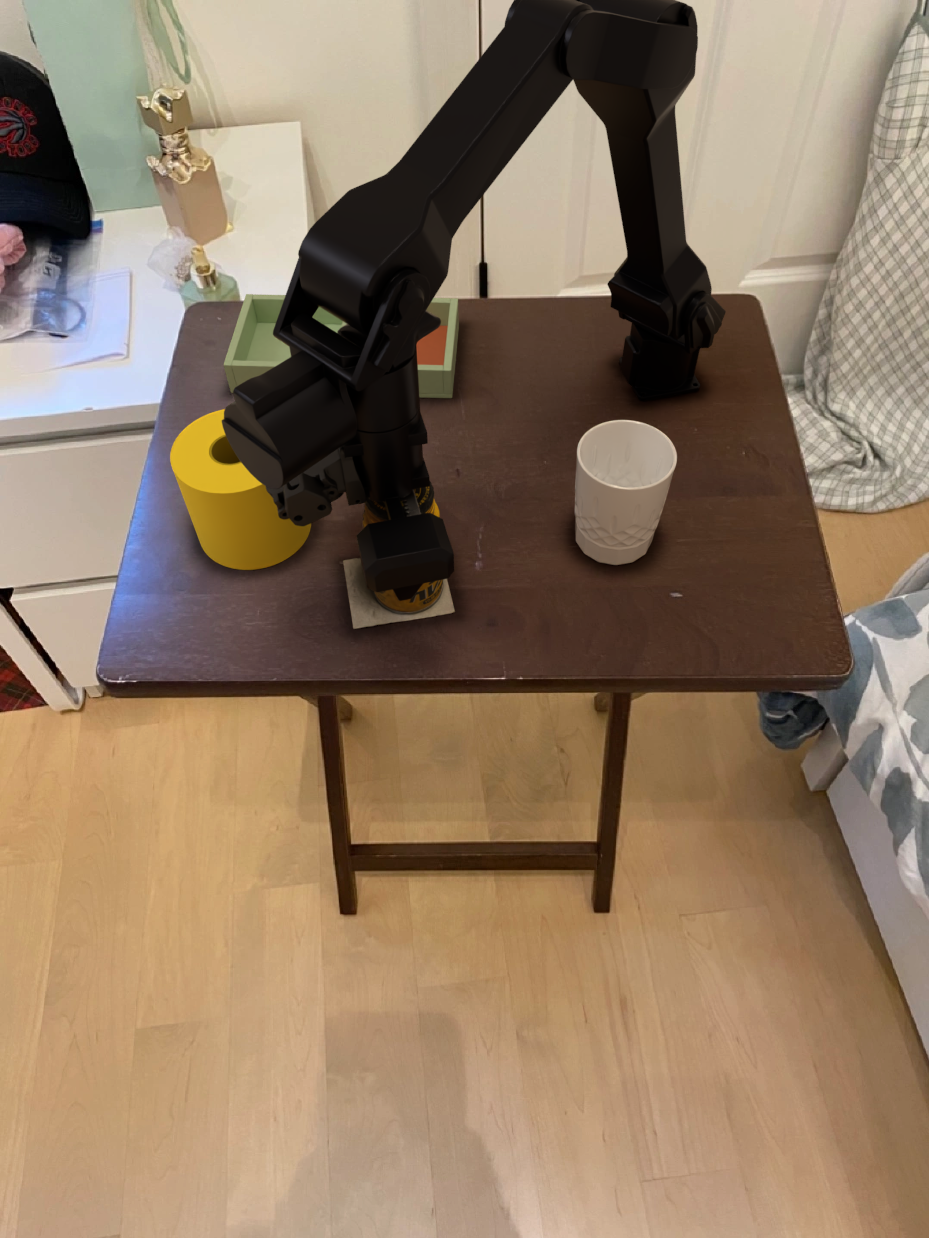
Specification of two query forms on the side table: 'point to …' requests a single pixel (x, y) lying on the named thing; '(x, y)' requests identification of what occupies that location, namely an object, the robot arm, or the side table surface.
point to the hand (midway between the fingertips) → (393, 555)
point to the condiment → (385, 605)
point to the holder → (263, 351)
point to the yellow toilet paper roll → (229, 501)
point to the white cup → (621, 489)
